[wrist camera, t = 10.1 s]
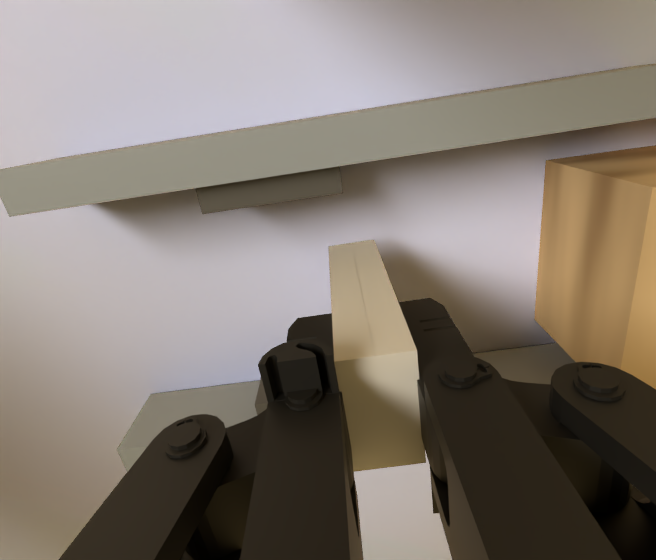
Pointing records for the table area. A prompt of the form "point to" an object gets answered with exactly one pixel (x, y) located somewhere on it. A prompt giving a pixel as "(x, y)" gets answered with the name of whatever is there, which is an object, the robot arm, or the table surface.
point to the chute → (323, 187)
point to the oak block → (601, 259)
